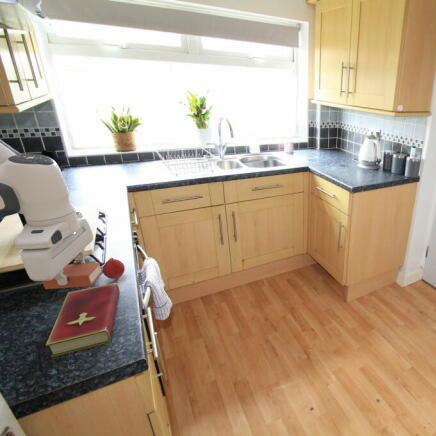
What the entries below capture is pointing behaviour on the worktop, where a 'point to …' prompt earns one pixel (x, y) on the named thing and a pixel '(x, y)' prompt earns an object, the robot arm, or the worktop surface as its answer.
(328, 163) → the worktop surface
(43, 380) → the worktop surface
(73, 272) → the pocket book
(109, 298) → the hardcover book
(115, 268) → the red round piece
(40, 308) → the worktop surface
